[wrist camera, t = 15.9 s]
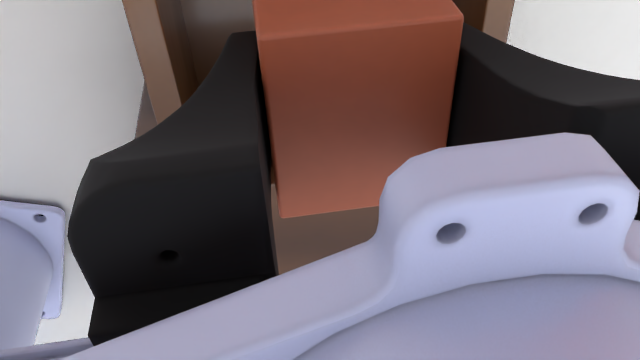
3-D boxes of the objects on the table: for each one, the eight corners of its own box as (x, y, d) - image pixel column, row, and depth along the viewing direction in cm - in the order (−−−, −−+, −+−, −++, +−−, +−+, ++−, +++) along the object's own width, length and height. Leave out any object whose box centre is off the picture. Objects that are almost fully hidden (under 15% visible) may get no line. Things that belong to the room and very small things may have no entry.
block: (265, 112, 16) (279, 220, 13) (245, -50, 13) (256, 37, 10) (395, 97, 16) (440, 199, 13) (404, -65, 13) (466, 15, 10)
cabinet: (145, 68, 22) (122, 202, 16) (461, 34, 23) (544, 149, 17) (209, 298, 31) (209, 432, 26) (429, 267, 32) (475, 389, 27)
